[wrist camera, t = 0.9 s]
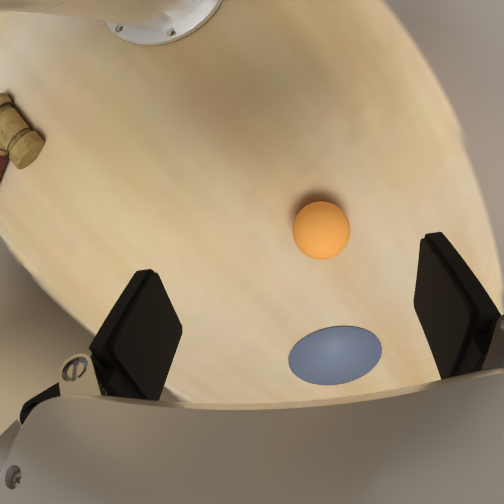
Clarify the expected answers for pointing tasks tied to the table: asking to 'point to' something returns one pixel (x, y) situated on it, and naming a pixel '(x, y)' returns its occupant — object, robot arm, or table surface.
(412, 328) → the table surface
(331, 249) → the ball
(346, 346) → the disc
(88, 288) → the table surface
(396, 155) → the table surface
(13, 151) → the gavel
